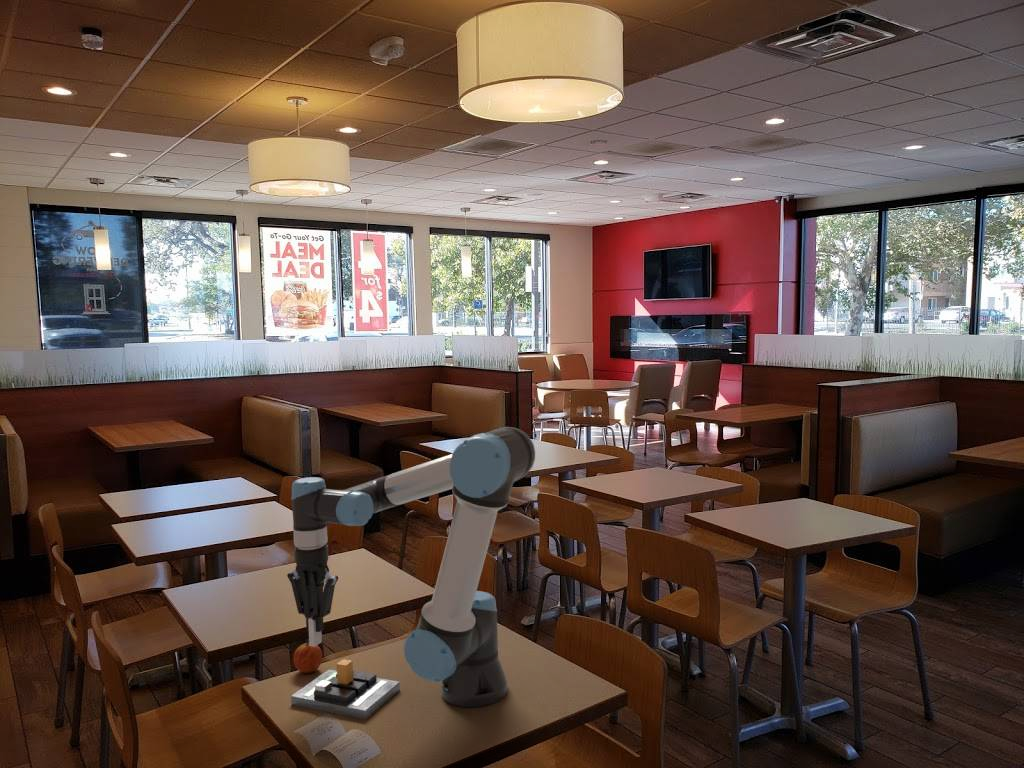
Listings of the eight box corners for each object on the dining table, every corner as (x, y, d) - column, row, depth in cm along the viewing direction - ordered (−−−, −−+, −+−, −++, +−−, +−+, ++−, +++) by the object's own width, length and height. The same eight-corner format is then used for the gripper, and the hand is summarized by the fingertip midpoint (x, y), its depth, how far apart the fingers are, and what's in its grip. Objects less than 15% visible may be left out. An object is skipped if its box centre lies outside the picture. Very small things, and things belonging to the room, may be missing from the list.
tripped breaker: (353, 679, 173) (352, 660, 173) (346, 684, 171) (345, 665, 171) (344, 677, 174) (343, 659, 174) (337, 682, 172) (336, 663, 172)
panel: (399, 689, 175) (398, 670, 175) (365, 719, 163) (364, 698, 162) (329, 677, 183) (328, 658, 183) (291, 704, 171) (290, 684, 170)
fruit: (295, 667, 190) (293, 636, 189) (323, 663, 191) (321, 633, 191) (293, 679, 183) (291, 647, 182) (322, 675, 184) (321, 644, 184)
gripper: (344, 543, 174) (348, 641, 176) (298, 538, 179) (303, 633, 181) (324, 552, 167) (328, 654, 169) (277, 547, 172) (282, 646, 174)
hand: (315, 643), depth 175 cm, fingers closed
